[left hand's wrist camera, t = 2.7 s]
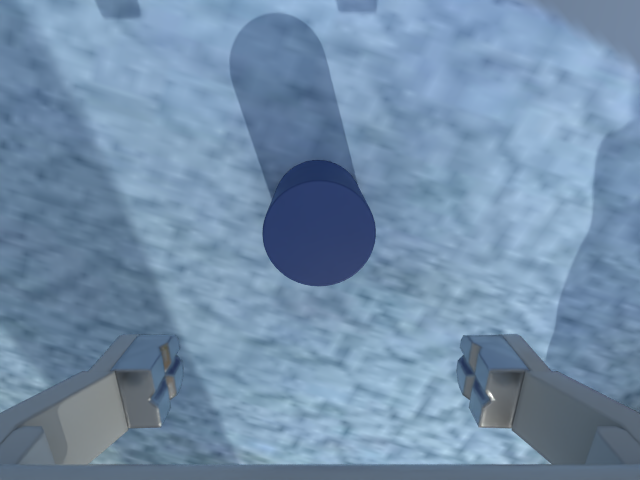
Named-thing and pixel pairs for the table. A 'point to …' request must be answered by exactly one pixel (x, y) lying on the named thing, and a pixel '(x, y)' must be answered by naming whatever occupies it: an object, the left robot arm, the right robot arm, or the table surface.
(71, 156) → the table surface
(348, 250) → the canister
